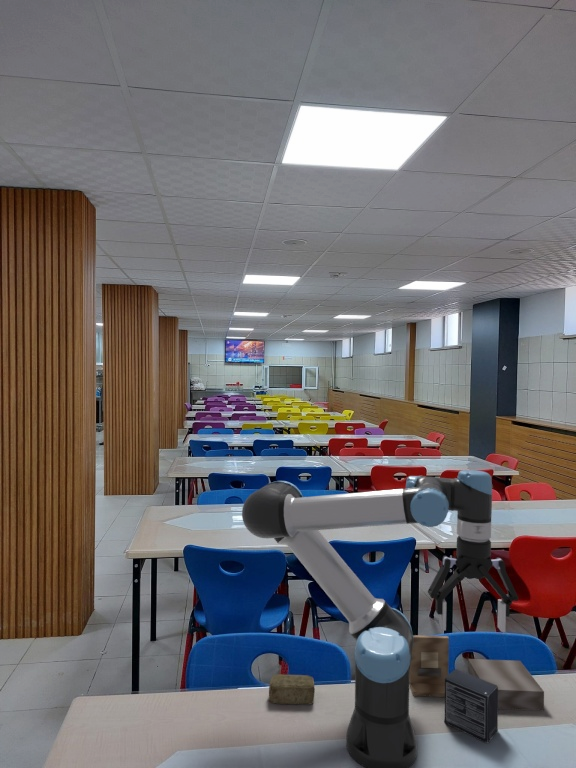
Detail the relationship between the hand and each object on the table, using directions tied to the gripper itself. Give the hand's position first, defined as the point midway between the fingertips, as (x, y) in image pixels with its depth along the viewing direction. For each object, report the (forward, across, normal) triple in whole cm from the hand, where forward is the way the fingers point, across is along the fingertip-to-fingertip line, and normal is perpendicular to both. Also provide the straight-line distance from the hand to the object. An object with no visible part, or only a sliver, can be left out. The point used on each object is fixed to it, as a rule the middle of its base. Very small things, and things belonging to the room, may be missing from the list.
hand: (471, 628), depth 118 cm
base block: (+23, +13, +14) cm, 30 cm away
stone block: (+23, -42, +8) cm, 49 cm away
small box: (+23, 0, 0) cm, 23 cm away
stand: (+23, -6, +14) cm, 27 cm away
